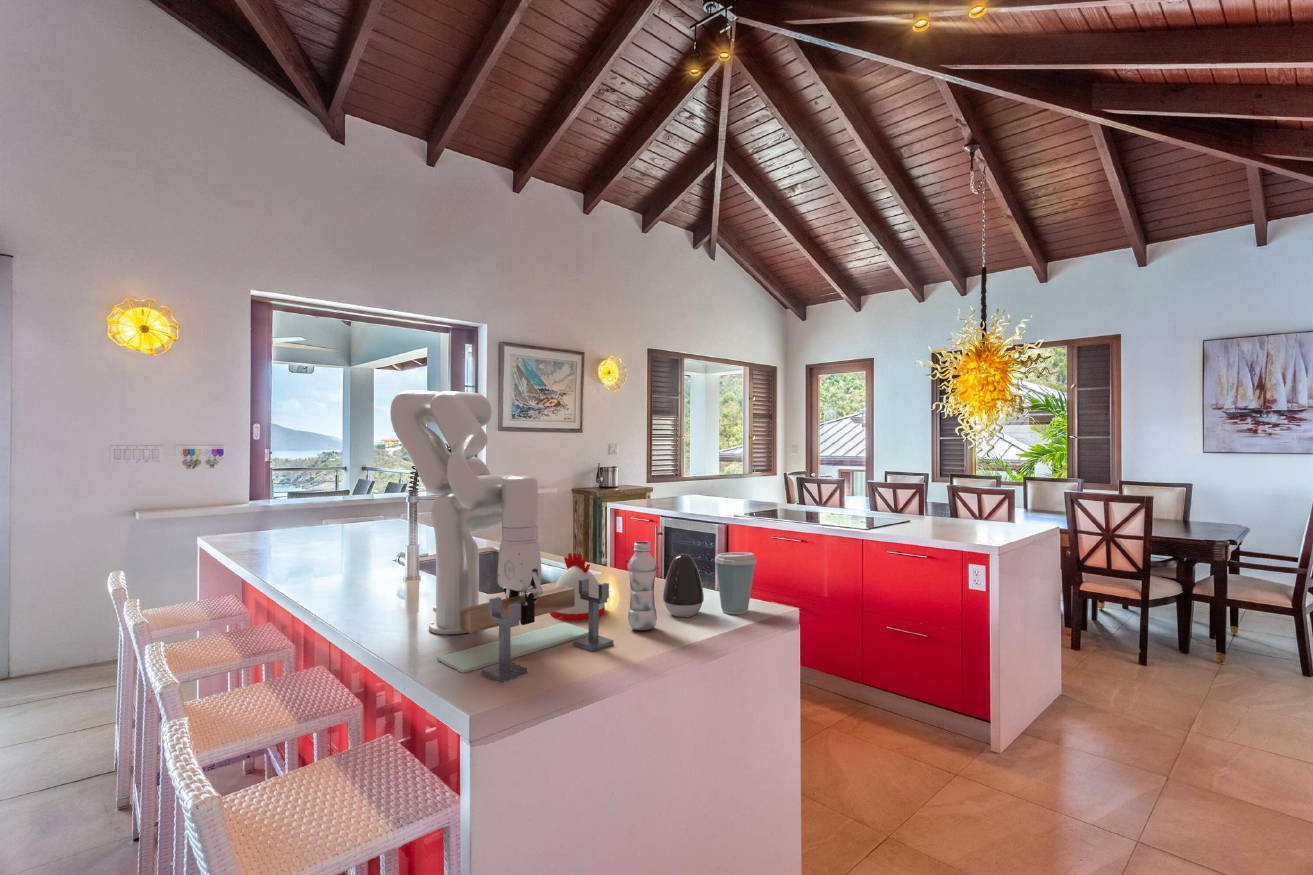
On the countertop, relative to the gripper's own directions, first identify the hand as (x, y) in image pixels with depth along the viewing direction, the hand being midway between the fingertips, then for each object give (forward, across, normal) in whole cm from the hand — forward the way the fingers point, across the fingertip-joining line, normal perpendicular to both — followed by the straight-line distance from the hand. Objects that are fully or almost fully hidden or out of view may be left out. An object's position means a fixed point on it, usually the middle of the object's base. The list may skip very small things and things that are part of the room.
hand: (520, 620), depth 129 cm
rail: (-1, 0, 0) cm, 1 cm away
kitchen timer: (+6, -11, +25) cm, 28 cm away
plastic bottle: (+6, +11, +26) cm, 29 cm away
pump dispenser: (+6, +10, +42) cm, 43 cm away
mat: (+5, 0, 0) cm, 6 cm away
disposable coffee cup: (+6, +18, +53) cm, 56 cm away
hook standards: (+6, +11, 0) cm, 12 cm away
